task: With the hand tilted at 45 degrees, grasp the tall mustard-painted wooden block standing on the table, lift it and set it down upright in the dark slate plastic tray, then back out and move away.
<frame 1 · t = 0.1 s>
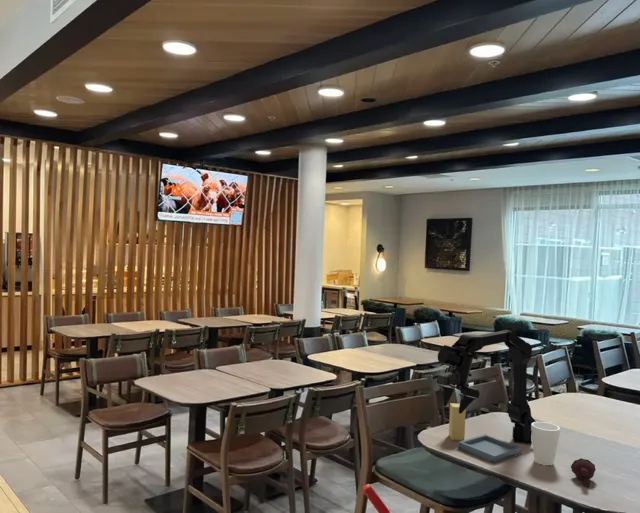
hand: (452, 409, 198), 15 cm above the table, tool pointing down, fingers open, 9 cm apart
block: (456, 437, 212), on the table
icecream: (582, 479, 178), on the table
foam cup: (543, 462, 191), on the table
tray: (489, 451, 199), on the table
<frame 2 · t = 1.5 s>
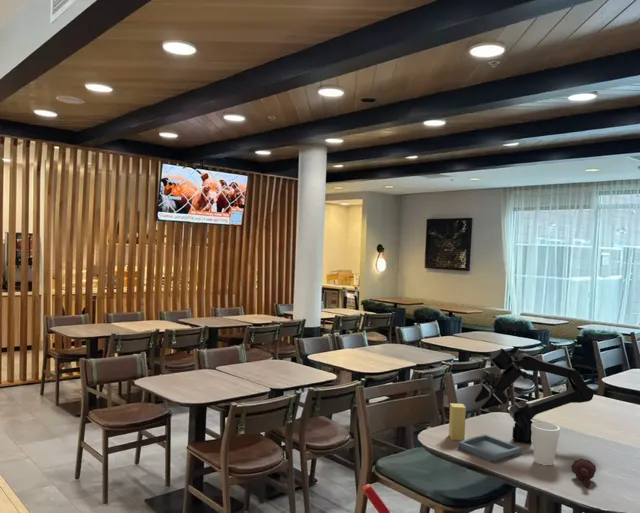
hand: (478, 405, 212), 13 cm above the table, tool tilted 45°, fingers open, 9 cm apart
nothing on the table moved.
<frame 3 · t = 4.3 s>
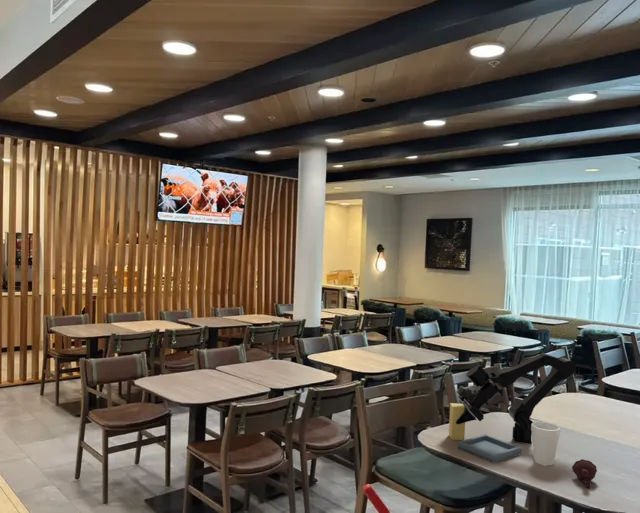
hand: (454, 421, 212), 7 cm above the table, tool tilted 45°, fingers closed on block, 5 cm apart
block: (456, 437, 212), on the table, touching gripper
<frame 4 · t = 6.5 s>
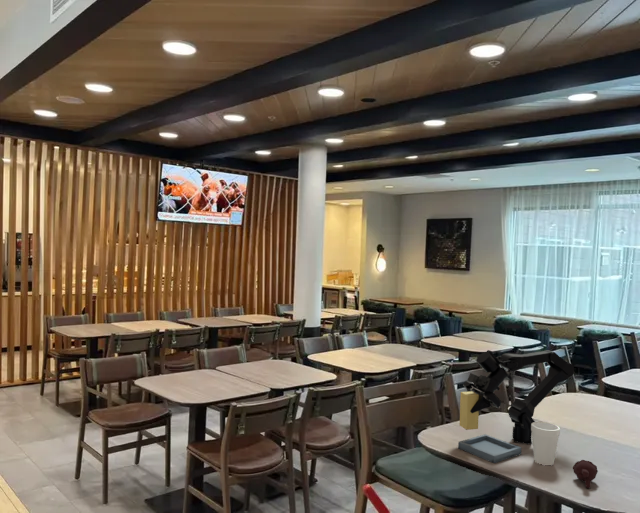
hand: (467, 410, 205), 13 cm above the table, tool tilted 45°, fingers closed on block, 5 cm apart
block: (468, 427, 205), point 7 cm above the table, touching gripper
when the fingers open (9 cm above the table, at t = 8.6 s): block drops 1 cm, resting on tray.
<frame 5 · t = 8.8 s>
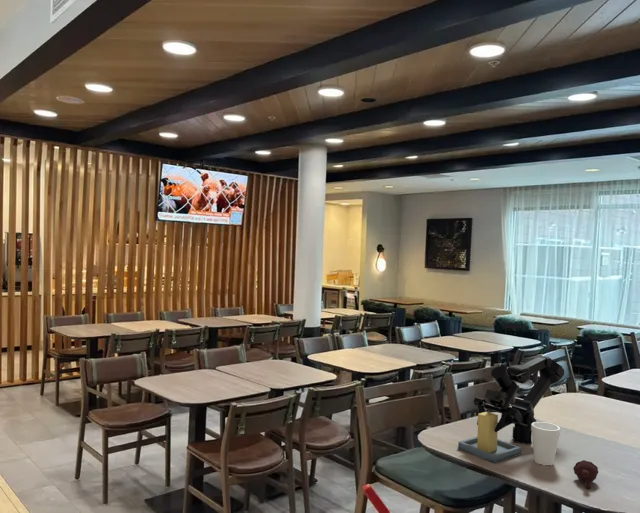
hand: (486, 428, 198), 9 cm above the table, tool tilted 45°, fingers open, 7 cm apart
block: (487, 449, 198), point 1 cm above the table, touching tray
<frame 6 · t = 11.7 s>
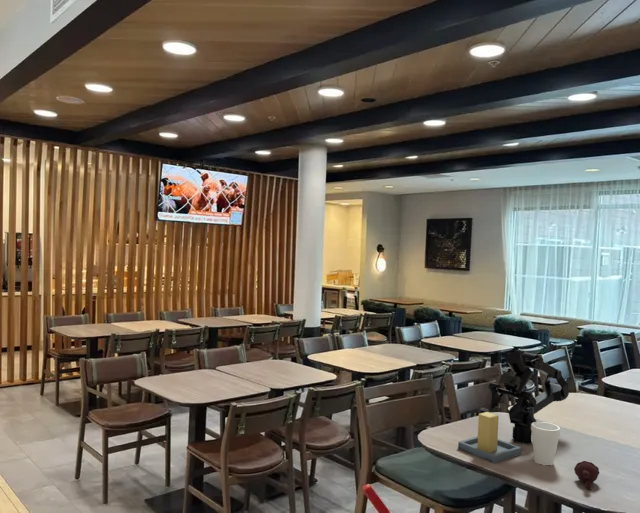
hand: (501, 411, 203), 14 cm above the table, tool tilted 45°, fingers open, 9 cm apart
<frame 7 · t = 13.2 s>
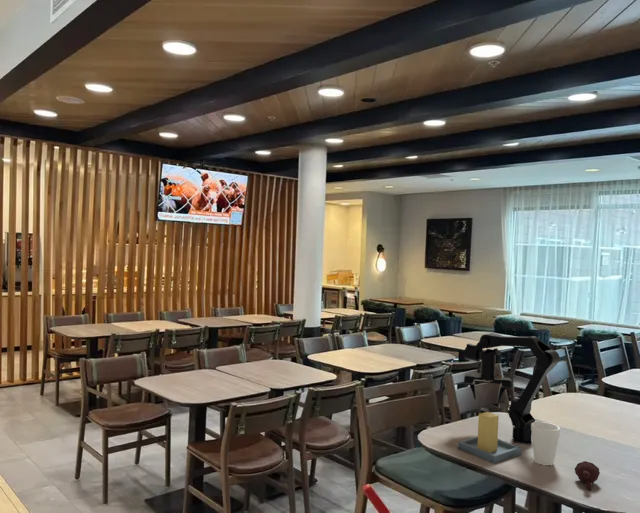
hand: (486, 400, 223), 12 cm above the table, tool pointing down, fingers open, 9 cm apart
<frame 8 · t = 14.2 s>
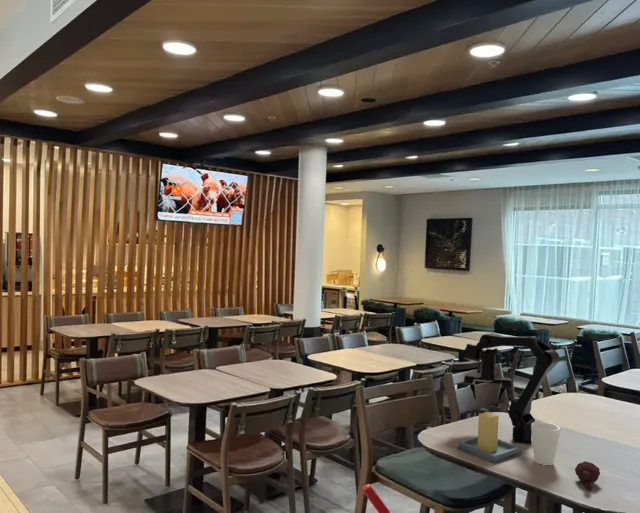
hand: (486, 400, 223), 12 cm above the table, tool pointing down, fingers open, 9 cm apart
at the end: block inside the target area on the tray (1.4 cm from its centre), point 1.0 cm above the tray's base; block tilted 0°; the gripper is holding nothing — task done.
